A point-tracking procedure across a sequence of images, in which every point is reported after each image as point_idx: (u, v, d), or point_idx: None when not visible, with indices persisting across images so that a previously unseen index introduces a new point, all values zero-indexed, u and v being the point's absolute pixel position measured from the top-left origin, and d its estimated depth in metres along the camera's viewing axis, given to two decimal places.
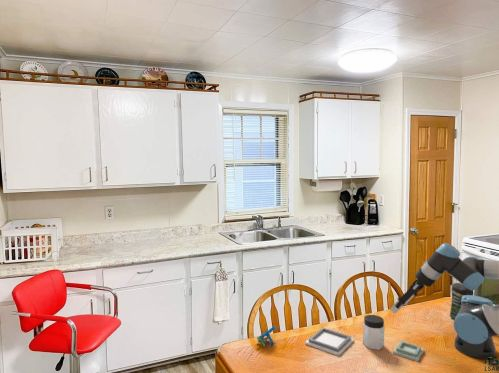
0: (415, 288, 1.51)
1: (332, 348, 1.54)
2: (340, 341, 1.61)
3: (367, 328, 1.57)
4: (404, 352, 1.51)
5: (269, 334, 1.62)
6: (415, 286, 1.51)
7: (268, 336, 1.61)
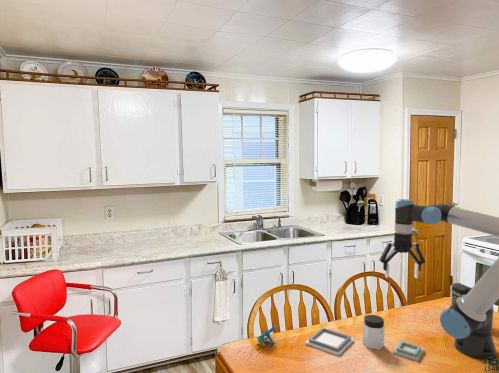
0: (387, 245, 1.68)
1: (332, 348, 1.54)
2: (340, 341, 1.61)
3: (367, 328, 1.57)
4: (404, 352, 1.51)
5: (269, 334, 1.62)
6: (387, 243, 1.68)
7: (268, 336, 1.61)
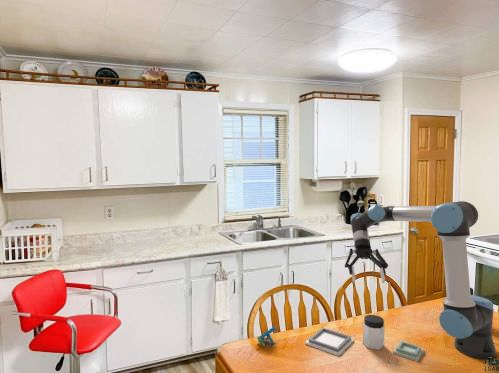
0: (349, 251, 1.78)
1: (332, 348, 1.54)
2: (340, 341, 1.61)
3: (367, 328, 1.57)
4: (404, 352, 1.51)
5: (269, 334, 1.62)
6: None
7: (268, 336, 1.61)
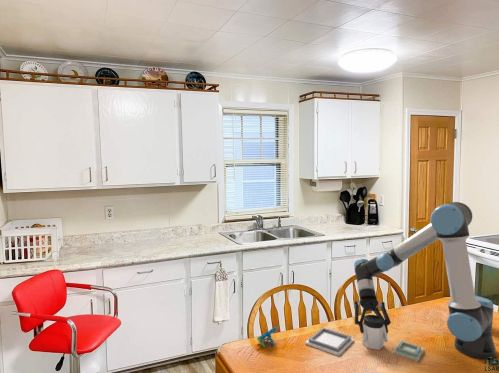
0: (354, 304, 1.67)
1: (332, 348, 1.54)
2: (340, 341, 1.61)
3: (367, 328, 1.57)
4: (404, 352, 1.51)
5: (270, 335, 1.61)
6: (354, 303, 1.67)
7: (269, 337, 1.60)
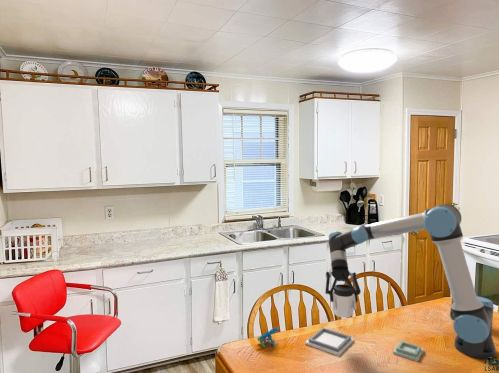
0: (326, 275, 1.68)
1: (332, 348, 1.54)
2: (340, 341, 1.61)
3: (336, 296, 1.59)
4: (404, 352, 1.51)
5: (270, 335, 1.61)
6: (326, 274, 1.69)
7: (269, 337, 1.60)
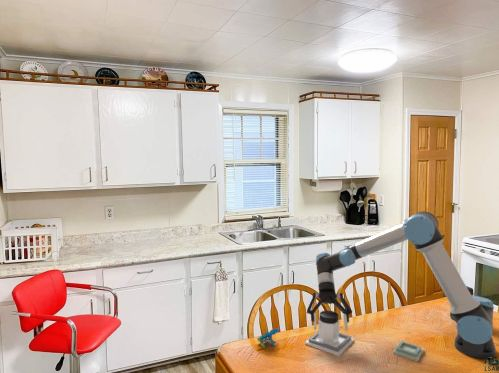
0: None
1: (332, 348, 1.54)
2: (340, 341, 1.61)
3: (321, 323, 1.59)
4: (404, 352, 1.51)
5: (271, 336, 1.60)
6: None
7: (269, 338, 1.60)
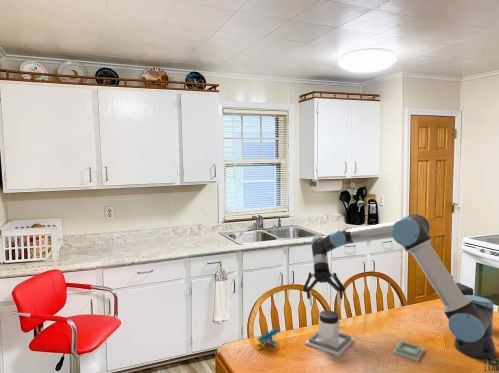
0: (308, 275, 1.82)
1: (332, 348, 1.54)
2: (340, 341, 1.61)
3: (321, 323, 1.59)
4: (404, 352, 1.51)
5: (271, 336, 1.60)
6: None
7: (269, 338, 1.59)
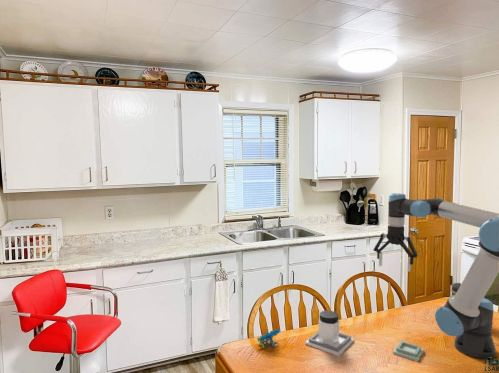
0: None
1: (332, 348, 1.54)
2: (340, 341, 1.61)
3: (321, 323, 1.59)
4: (404, 352, 1.51)
5: (271, 337, 1.60)
6: (381, 234, 1.80)
7: (269, 338, 1.59)
